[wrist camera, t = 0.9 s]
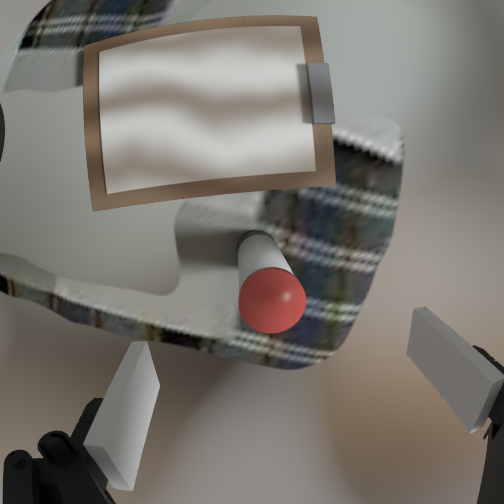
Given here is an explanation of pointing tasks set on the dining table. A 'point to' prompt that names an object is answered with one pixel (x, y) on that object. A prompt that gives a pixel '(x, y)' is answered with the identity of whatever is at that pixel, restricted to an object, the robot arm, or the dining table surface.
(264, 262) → the marker
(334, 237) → the dining table surface
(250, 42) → the clipboard
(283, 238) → the dining table surface
